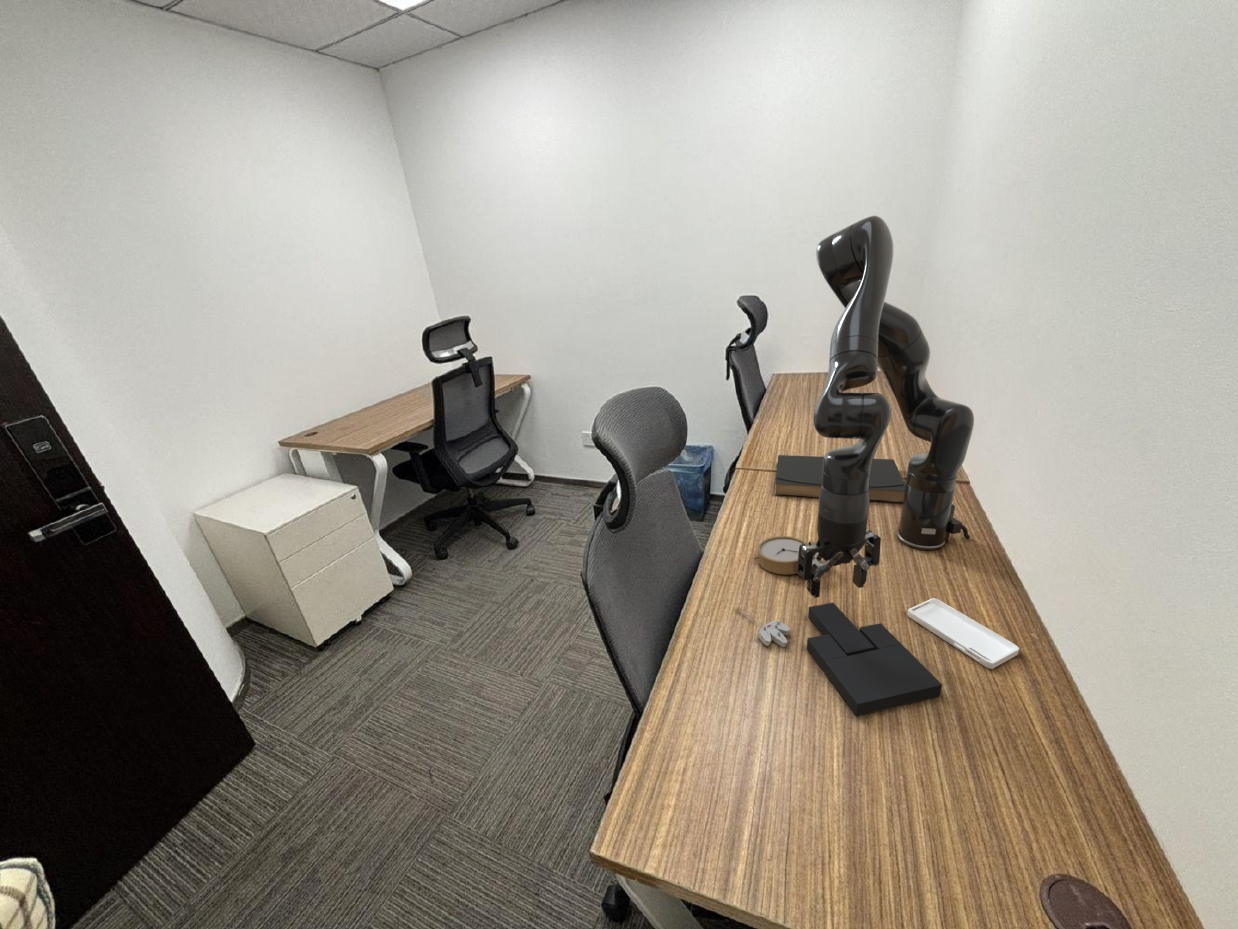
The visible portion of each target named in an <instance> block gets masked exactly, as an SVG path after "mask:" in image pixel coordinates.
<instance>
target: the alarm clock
mask: <svg viewBox="0 0 1238 929" xmlns="http://www.w3.org/2000/svg"><path fill="white" fill-rule="evenodd" d="M816 543H817V542H814V541H808V543H807V542H806V541H805V540H802V539H801V538H799V537H794V536H791V535H790V536H789V535H778V536H777V535H776V536H775V535H774V536H771V537H767V538H766V539H763V540H762V541H761V542H760V543H758V546H757V548H756V549H757V555H756V556H754V557H753V560H757V561H758V564H759V566H760V567H761V568H762V569H764V570H766V571H767V572H770V573H773V574H777V575H785V576H786V575H795V574H797V575H798V576H800V577H802V576H801V575H800V574H798V572H797V563H798V554H799V546H800V545H801V544H805V545H806V546H812V545H815V544H816ZM815 555H816V554H815ZM822 563H823V564H825V563H826V561H825V560H824V562H822ZM817 570H818V568H817V569H816V570H815V571H817Z"/></svg>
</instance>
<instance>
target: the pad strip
mask: <svg viewBox="0 0 1238 929" xmlns="http://www.w3.org/2000/svg"><path fill="white" fill-rule="evenodd" d="M807 618H808V620H809V621H810V622H811V623H812V624H813V626H814V627H815V628H816V629H817V630H818V632H819V633H820V634H821V635H826V634H830V636H831V637H832V638H833V639H834V640H835V642H836V643H837V644H838V645H839V646H840V648H841V649H842V650H843V651H844V652H845V654H846V655H847V656H850V655H854V654H859V653H864V652H868V651H873V650H874V646H873V645H872V644H871V643H870V642H869V641H868V640H867V639H866V638H865V636H864V635H863V634H862V633H861V632H860V631H859V628H858V627H856V626H855V624H854V623H853V622H852V621H851V620H850V619H849V618H848V616H846V615H845V614H844V612H843V611H842V610H841V609H840V608H839V607H838V606H837V605H836V604H835V603H834V602H827V603H822V604H818V605H813V606H809V607H808V613H807Z"/></svg>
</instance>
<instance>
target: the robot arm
mask: <svg viewBox="0 0 1238 929" xmlns="http://www.w3.org/2000/svg"><path fill="white" fill-rule="evenodd" d="M892 235H893V234H892V232H891V230H890V227H889V226H888V224H887V223H886V221H885V220H884V219H883V218H882V217H881V216H878V215H870V216H866V217H864V218H862V219H860V220H857V221H856V222H854V223H852V224H850V225H848V226H846V227H844V228H842V229H840V230H838V231H836V232H834V233H832V234H830V235H828V236H826V237H825V238H823V239H821V240H820V241H819V242H818V243H817V245H816V246H817V247H816V250H815V256H816V263H817V265H818V268H819V271H820V273H821V274H822V276H823V278H824V280H825V282H826V283H827V285H828V287H829V288H830V289H831V291H832V292H833V294H834V295H835V296H836V298H837V300H838V301H839V302H840V304H841V305H842V307H843V308H844V310H843V311H842V312H841V315H840V317H839V318H838V320H837V321H836V324H835V326H834V328H833V330H832V334H831V337H830V345H829V361H828V371H827V376H826V379H825V383H824V385H823V386H824V387H823V389H822V391H821V393H820V396H819V398H818V400H817V403H816V405H815V408H814V411H813V416H812V423H813V427H814V429H815V431H816V432H817V433H818V435H820V436H821V437H823V438H825V439H826V438H827V439H843V440H844V439H848V440H850V439H851V440H857V442H856V443H853V444H851V445H848V446H842V447H837V448H833V449H830V450H828V451H827V452H826V453H825V454H824V456H823V457H824V460H823V471H822V486H821V491H820V495H819V498H818V510H817V526H816V533H817V541H816V542H815V543H816V544H815V545H812V546H806V545H805V544H801V545H800V546H799V554H798V563H797V572H798V574H800V575H801V576H800V575H799V576H800V577H801V578H802V579H803V580H804V581H805V582H806V590H807V592H808V593H809V594H810V595H811V596H812V597H813V598H814V599H818V598H820V594H821V593H820V592H821V578H822V577H823V576H824V574H825V573H827V574H828V573H829V572H830V570H831V569H832V568H833V567H837V566H840V565H844V564H845V565H847V564H851V562H852V561H853V562H854V563H855V564H853V571H852V579H851V580H852V583H853V585H855V586H856V587H857V588H858V589H861V588H864V587H865V584H866V582H867V577H868V571H869V570H870V569H871V567H872V566H874V567H877V566H879V564H880V560H881V543H882V538H881V536H879V535H878V534H876V533H875V532H874V531H872V530H871V529H868V530H867V526H868V518H869V511H870V510H869V509H870V501H869V484H870V474H871V467H872V462H873V459H875V456H876V453H877V450H878V448H879V447H880V446H879V445H880V443H881V441H882V440H883V437H884V436H885V435H884V434H885V433H886V431H887V429H888V427H889V424H890V422H891V418H892V407H891V403H890V401H889V400H888V398H887V397H886V396H884V395H883V394H882V393H879V392H847V391H849V390H852V389H857V388H861V387H865V386H868V385H870V384H871V383H873V382H874V381H875V379H876V378H877V376H878V372H879V371H878V370H880V372H881V374H882V376H883V377H884V380H885V381H886V383H887V385H888V387H889V389H890V392H892V394H893V396H894V398H895V400H896V402H897V406H898V408H899V410H900V414H901V416H902V419H903V422H904V424H905V427H906V428H907V430H908V431H909V432H910V434H911V435H913V436H914V437H916V438H918V439H919V440H923V441H926V442H928V443H930V446H929V450H928V452H921V453H916V454H914V455H912V456H911V457H910V458H909V461H908V464H907V472H906V478H905V491H904V498H903V503H901V511H900V519H899V524H898V530H897V535H896V536H897V539H898V540H899V541H900V542H901V543H902V544H904V545H905V546H907V547H910V548H913V549H917V550H923V551H935V550H936V551H937V550H939V549H942V548H943V547H944V546H945V544H948V543H949V540H950V535H955V534H961V531H962V533H963V534H962V535H963V537H964V538H965V539H966V540H970V539H971V536H970V534H969V531H968V528H967V527H966V526H965V525H964V524H963V522H962V521H960V520H958V519H956V518H955V517H954V514H955V511H956V506H955V504H954V503H953V500H954V496H955V490H956V485H957V481H958V475H959V471H960V469H961V467H962V466H963V464H964V461H965V460H966V457H967V453H968V449H969V446H970V442H971V438H972V434H973V430H974V425H975V415H974V412H973V410H972V408H971V407H969V406H967V405H966V404H963V403H960V402H955V401H953V400H952V401H951V400H949V399H945V398H941V397H939V396H938V395H937V394H936V393H935V391H934V390H933V389H932V387H931V385H930V383H929V381H928V379H927V376H926V375H927V374H926V373H927V371H928V367H929V363H930V358H931V349H930V345H929V342H928V340H927V338H926V335H925V333H924V331H923V329H922V327H921V325H920V323H919V321H918V320H917V319H916V318H915V317H914V316H913V315H911V314H910V313H909V312H907V311H906V310H903V309H901V308H900V307H898V306H896V305H894V304H891V303H889V302H887V301H885V299H886V295H887V293H888V292H887V291H888V288H889V287H888V286H889V282H890V278H891V271H892V268H893V261H894V252H895V251H894V241H893V236H892ZM863 547H864V555H861V553H860V551H861V550H862V549H863ZM815 554H816V555H815ZM822 559H823V561H824V562H825V561H826V563H825V564H823V563H824V562H822ZM817 568H818V570H816V569H817ZM798 574H797V575H798Z"/></svg>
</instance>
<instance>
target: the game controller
mask: <svg viewBox="0 0 1238 929" xmlns="http://www.w3.org/2000/svg"><path fill="white" fill-rule="evenodd" d="M739 611H740V612H742V613H743V614H744V616H745V617H746V618H748V619H749V620H751V618H750V617H748V616H747V615H746V613H745V612H744V611H742V610H741V609H739ZM752 620H755V621H757V622H758V623H759V624H761V622H760V621H759V620H758V619H756V618H754V617H753V618H752ZM789 633H790V627H789V626H788V625H786V624H785V623H784V622H783V621H781V620H772V621H768V622H767V623H766V624H764V625H762V626H761V627H760V629H759V633H758V638H759V640H760V641H761V642H762V643H763V644H764V646H767V647H769V646H770V645H771V642H772V641H773V642H774V643H776V645H779V646H780V648H781V647H782V648H786V647H787V644H788V640H787V638H786V636H788V635H789Z"/></svg>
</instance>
